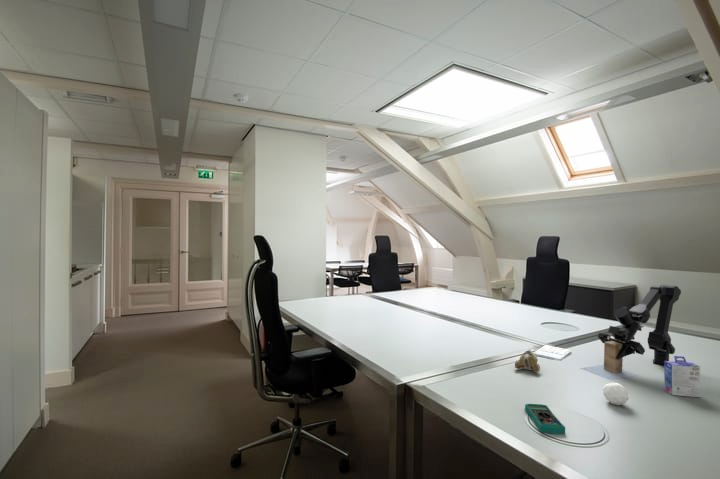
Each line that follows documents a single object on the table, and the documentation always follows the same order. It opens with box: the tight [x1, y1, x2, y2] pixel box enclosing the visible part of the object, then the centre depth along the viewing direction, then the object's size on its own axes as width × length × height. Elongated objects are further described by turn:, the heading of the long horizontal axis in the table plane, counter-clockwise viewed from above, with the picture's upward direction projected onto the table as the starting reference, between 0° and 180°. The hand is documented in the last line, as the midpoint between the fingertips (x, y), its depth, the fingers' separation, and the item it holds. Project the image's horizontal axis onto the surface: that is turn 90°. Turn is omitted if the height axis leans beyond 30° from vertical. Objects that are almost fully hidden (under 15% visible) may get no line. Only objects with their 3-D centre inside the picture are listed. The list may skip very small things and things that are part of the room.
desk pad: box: [580, 364, 638, 381], centre depth 162 cm, size 18×14×1 cm
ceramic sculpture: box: [514, 349, 541, 373], centre depth 165 cm, size 11×9×15 cm
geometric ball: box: [602, 382, 630, 406], centre depth 131 cm, size 8×8×8 cm
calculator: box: [533, 344, 572, 361], centre depth 188 cm, size 13×20×2 cm, turn 134°
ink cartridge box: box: [663, 355, 701, 398], centre depth 140 cm, size 10×6×14 cm, turn 78°
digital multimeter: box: [524, 403, 566, 435], centre depth 118 cm, size 8×15×3 cm, turn 173°
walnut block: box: [603, 341, 624, 373], centre depth 163 cm, size 5×5×13 cm
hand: (610, 356), depth 162 cm, fingers closed on walnut block, 5 cm apart
